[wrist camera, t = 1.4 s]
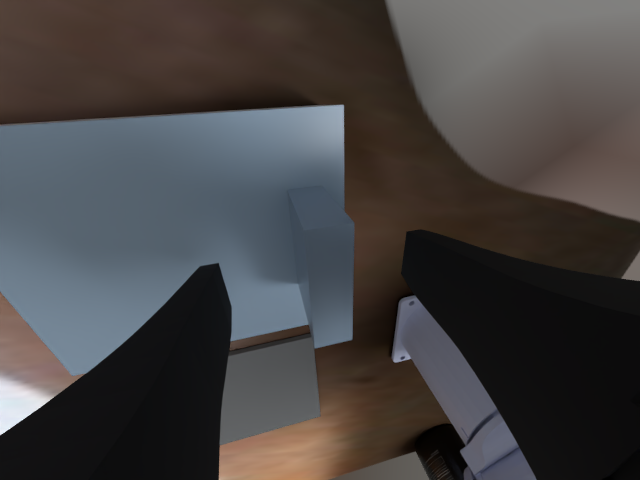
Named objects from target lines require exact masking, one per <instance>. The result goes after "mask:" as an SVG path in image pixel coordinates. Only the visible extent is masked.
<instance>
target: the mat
mask: <svg viewBox="0 0 640 480" xmlns="http://www.w3.org/2000/svg"><path fill="white" fill-rule="evenodd" d="M316 417H320V406H319V395H318V384H317V374H316V363H315V352H314V344H313V340H312V336H311V333H310V334H305V335H301V336H297V337H292V338H288V339H283V340H279V341H274V342H270V343H266V344H261V345H257V346H252V347H248V348H243V349H239V350H235V351H230V352H229V356H228V363H227V370H226V377H225V384H224V391H223V399H222V409H221V425H220V445H223V444H226V443H230V442H233V441H237V440H240V439H243V438H247V437H250V436H254V435H257V434H261V433H264V432H268V431H271V430H275V429H278V428H282V427H285V426H289V425H292V424H296V423H299V422H303V421H306V420H310V419H313V418H316Z"/></svg>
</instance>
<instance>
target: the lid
mask: <svg viewBox="0 0 640 480" xmlns="http://www.w3.org/2000/svg"><path fill="white" fill-rule="evenodd" d="M215 263H219V266H220V269H221V272H222V276H223V279H224V282H225V286H226V289H227V292H228V296H229V299H230V303H231V306H232V333H231V341H235V340H239V339H244V338H249V337H253V336H258V335H262V334H267V333H271V332H276V331H281V330H285V329H290V328H294V327H299V326H303V325H308V324H309V328H310V332H311V336H312V340H313V344H314V348H319V347H324V346H328V345H332V344H336V343H341V342H345V341H349V340H352V336H353V273H354V222H353V221H352V220H351V219H350V217H349V216H348V215H347V214H346V213H345V212H344V105H329V106H313V107H297V108H281V109H265V110H249V111H233V112H217V113H200V114H184V115H168V116H152V117H136V118H120V119H104V120H88V121H71V122H55V123H39V124H23V125H7V126H0V292H1V293H2V294H3V295H4V297H5V298H6V299H7V300H8V301H9V302H10V304H11V305H12V306H13V307H14V308H15V309H16V311H17V312H18V313H19V314H20V315H21V316H22V318H23V319H24V320H25V321H26V322H27V323H28V325H29V326H30V327H31V328H32V329H33V330H34V332H35V333H36V334H37V335H38V336H39V337H40V339H41V340H42V341H43V342H44V343H45V344H46V346H47V347H48V348H49V349H50V350H51V351H52V353H53V354H54V355H55V356H56V357H57V359H58V360H59V361H60V362H61V363H62V364H63V366H64V367H65V368H66V369H67V370H68V371H69V373H70V374H71V375H72V376H75V375H79V374H84V373H87V372H89V371H90V370H91V369H92V368H94V367H95V366H96V365H98V364H99V363H100V362H101V361H102V360H104V359H105V358H106V357H107V356H108V355H110V354H111V353H112V352H113V351H114V350H116V349H117V348H118V347H119V346H120V345H122V344H123V343H124V342H125V341H126V340H127V339H128V338H130V337H131V336H132V335H133V334H134V333H135V332H136V331H137V330H138V329H139V328H140V327H141V326H142V325H143V324H144V323H145V322H147V321H148V320H149V319H150V318H151V317H152V316H153V315H154V314H155V313H156V312H157V311H158V310H159V309H160V308H161V307H162V306H163V305H164V304H165V303H166V302H167V301H168V300H169V299H170V298H171V297H172V296H173V294H174V293H175V292H176V291H177V290H178V289H179V288H180V287H181V286H182V285H183V284H184V283H185V282H186V281H187V279H188V278H189V277H190V276H191V275H192V274H193V273H194V272H195V271H196V270H197V269H198V268H199V267H200V266H203V265H209V264H215Z"/></svg>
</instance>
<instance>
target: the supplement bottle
mask: <svg viewBox="0 0 640 480" xmlns="http://www.w3.org/2000/svg"><path fill="white" fill-rule="evenodd" d="M465 446H466V445H465V444H464V442H463V440H462V439H461V437H460V436H459V434H458V432H457V431H456V429H455V428H454V426H452V425H442V426H439V427H436V428H434V429H432V430H430V431H428V432H427V433H425V434H424V435H423V436H421V437H420V438H419V440H418V441H417V443H416V446H415V450H416V453H417V455H418V457H419V459H420V462H421V464H422V466H423V468H424V470H425V472H426V474H427V476H428V478H429V480H464V470H465V469H466V467H468V464H467V463H466V461H465V459H464V458H463V456H462V454H461V453H460V450H461V449H463V448H464V447H465Z"/></svg>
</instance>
